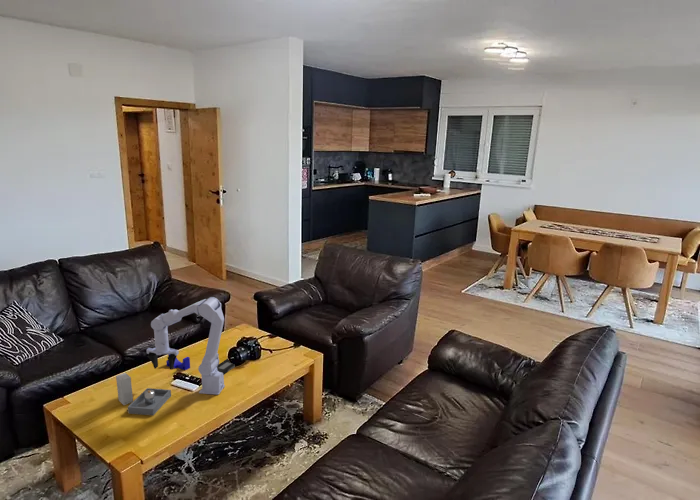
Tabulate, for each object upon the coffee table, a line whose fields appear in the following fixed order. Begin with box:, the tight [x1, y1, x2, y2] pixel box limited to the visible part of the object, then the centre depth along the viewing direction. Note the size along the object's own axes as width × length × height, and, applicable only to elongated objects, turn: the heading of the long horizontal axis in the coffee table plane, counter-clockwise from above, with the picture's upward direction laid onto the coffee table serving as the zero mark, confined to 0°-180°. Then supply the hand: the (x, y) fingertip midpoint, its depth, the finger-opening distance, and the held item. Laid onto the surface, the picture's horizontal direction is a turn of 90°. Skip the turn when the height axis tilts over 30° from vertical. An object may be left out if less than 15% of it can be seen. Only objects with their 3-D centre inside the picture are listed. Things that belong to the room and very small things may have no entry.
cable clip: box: [165, 354, 191, 371], centre depth 228 cm, size 12×4×6 cm, turn 62°
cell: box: [143, 390, 155, 405], centre depth 195 cm, size 4×4×6 cm
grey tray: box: [127, 387, 172, 416], centre depth 195 cm, size 11×15×3 cm
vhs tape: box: [217, 358, 236, 376], centre depth 228 cm, size 8×14×2 cm, turn 156°
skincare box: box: [115, 372, 134, 406], centre depth 196 cm, size 6×4×12 cm
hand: (163, 368), depth 208 cm, fingers open, 7 cm apart
